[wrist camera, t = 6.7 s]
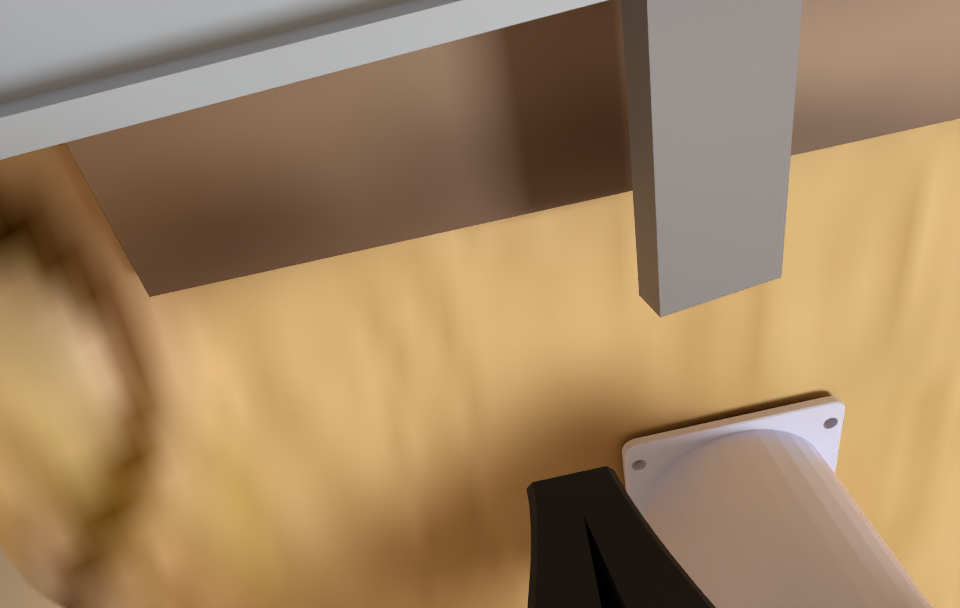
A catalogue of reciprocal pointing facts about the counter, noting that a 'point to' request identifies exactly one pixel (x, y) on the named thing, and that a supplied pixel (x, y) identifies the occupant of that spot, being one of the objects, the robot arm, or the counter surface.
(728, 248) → the lever
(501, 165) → the base
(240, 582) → the counter surface
